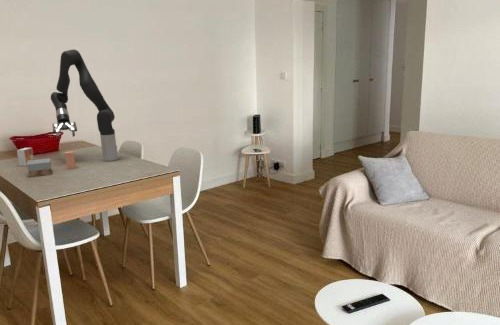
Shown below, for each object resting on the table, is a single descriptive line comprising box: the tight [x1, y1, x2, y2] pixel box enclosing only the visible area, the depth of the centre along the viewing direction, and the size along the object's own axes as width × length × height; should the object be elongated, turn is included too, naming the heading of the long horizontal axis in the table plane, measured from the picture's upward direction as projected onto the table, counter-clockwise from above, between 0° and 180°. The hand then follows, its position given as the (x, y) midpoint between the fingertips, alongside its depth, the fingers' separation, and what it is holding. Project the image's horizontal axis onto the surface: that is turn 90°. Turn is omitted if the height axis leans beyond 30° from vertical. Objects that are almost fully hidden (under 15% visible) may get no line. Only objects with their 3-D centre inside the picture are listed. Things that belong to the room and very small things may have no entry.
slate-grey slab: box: [26, 157, 52, 172], centre depth 249 cm, size 12×12×4 cm
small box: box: [16, 147, 35, 167], centre depth 274 cm, size 8×6×10 cm
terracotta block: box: [64, 150, 77, 170], centre depth 261 cm, size 5×5×10 cm
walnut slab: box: [28, 167, 53, 178], centre depth 250 cm, size 12×12×4 cm
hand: (66, 136), depth 268 cm, fingers open, 8 cm apart
